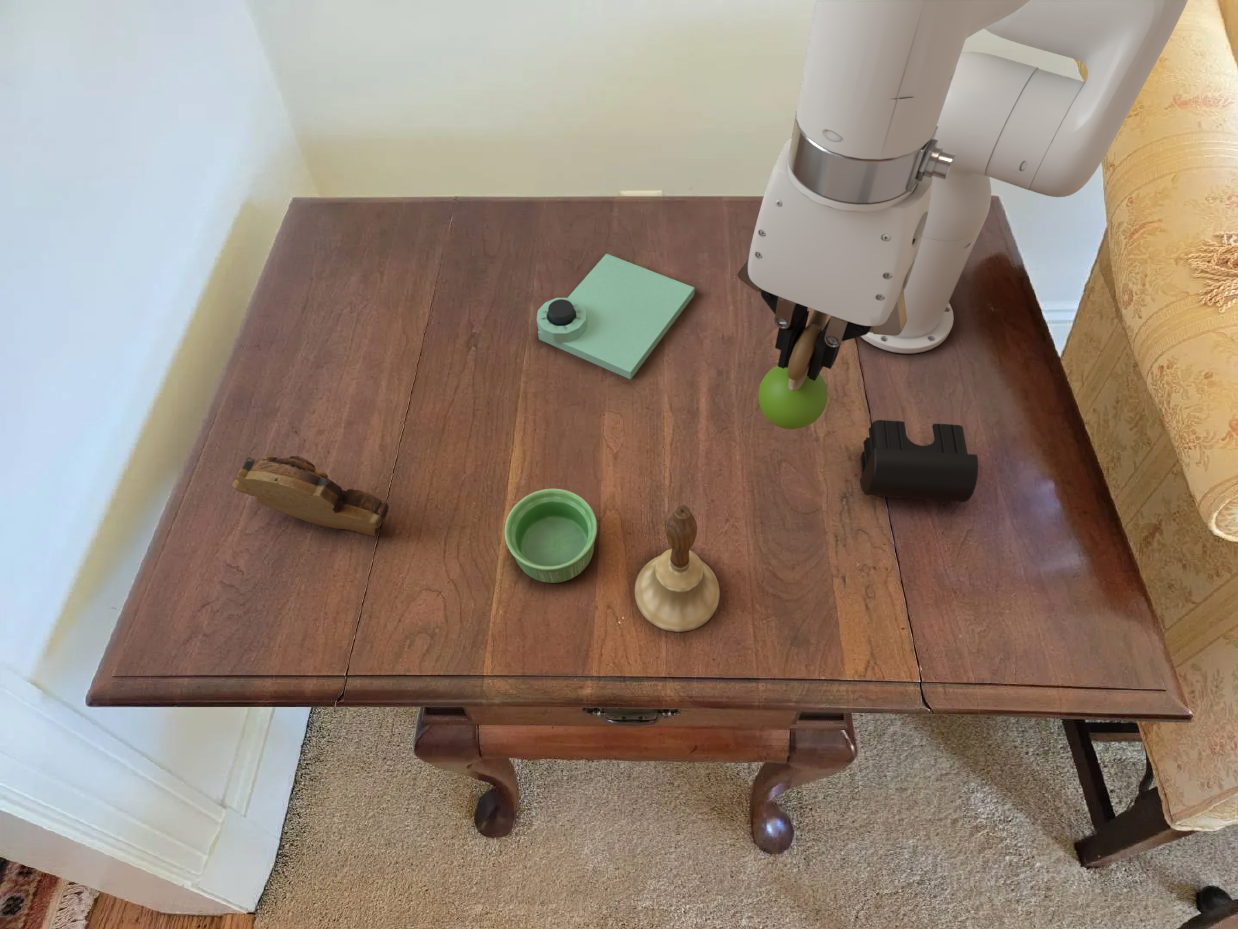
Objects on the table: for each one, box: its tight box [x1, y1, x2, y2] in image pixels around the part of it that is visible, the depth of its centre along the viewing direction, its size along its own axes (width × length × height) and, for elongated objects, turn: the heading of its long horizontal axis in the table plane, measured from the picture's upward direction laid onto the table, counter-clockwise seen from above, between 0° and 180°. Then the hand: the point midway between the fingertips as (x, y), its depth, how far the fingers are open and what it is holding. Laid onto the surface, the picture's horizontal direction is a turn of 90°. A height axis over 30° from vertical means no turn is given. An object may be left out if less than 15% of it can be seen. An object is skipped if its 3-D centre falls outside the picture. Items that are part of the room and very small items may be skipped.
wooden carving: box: [231, 455, 390, 538], centre depth 77 cm, size 16×5×10 cm, turn 78°
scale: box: [536, 253, 695, 380], centre depth 95 cm, size 16×14×3 cm
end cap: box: [859, 419, 979, 503], centre depth 79 cm, size 10×7×7 cm
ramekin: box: [503, 488, 598, 584], centre depth 77 cm, size 9×9×4 cm
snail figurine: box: [757, 309, 829, 430], centre depth 60 cm, size 5×6×12 cm
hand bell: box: [634, 504, 721, 633], centre depth 69 cm, size 8×8×16 cm
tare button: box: [548, 299, 574, 326], centre depth 93 cm, size 3×3×2 cm
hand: (803, 360), depth 59 cm, fingers closed on snail figurine
